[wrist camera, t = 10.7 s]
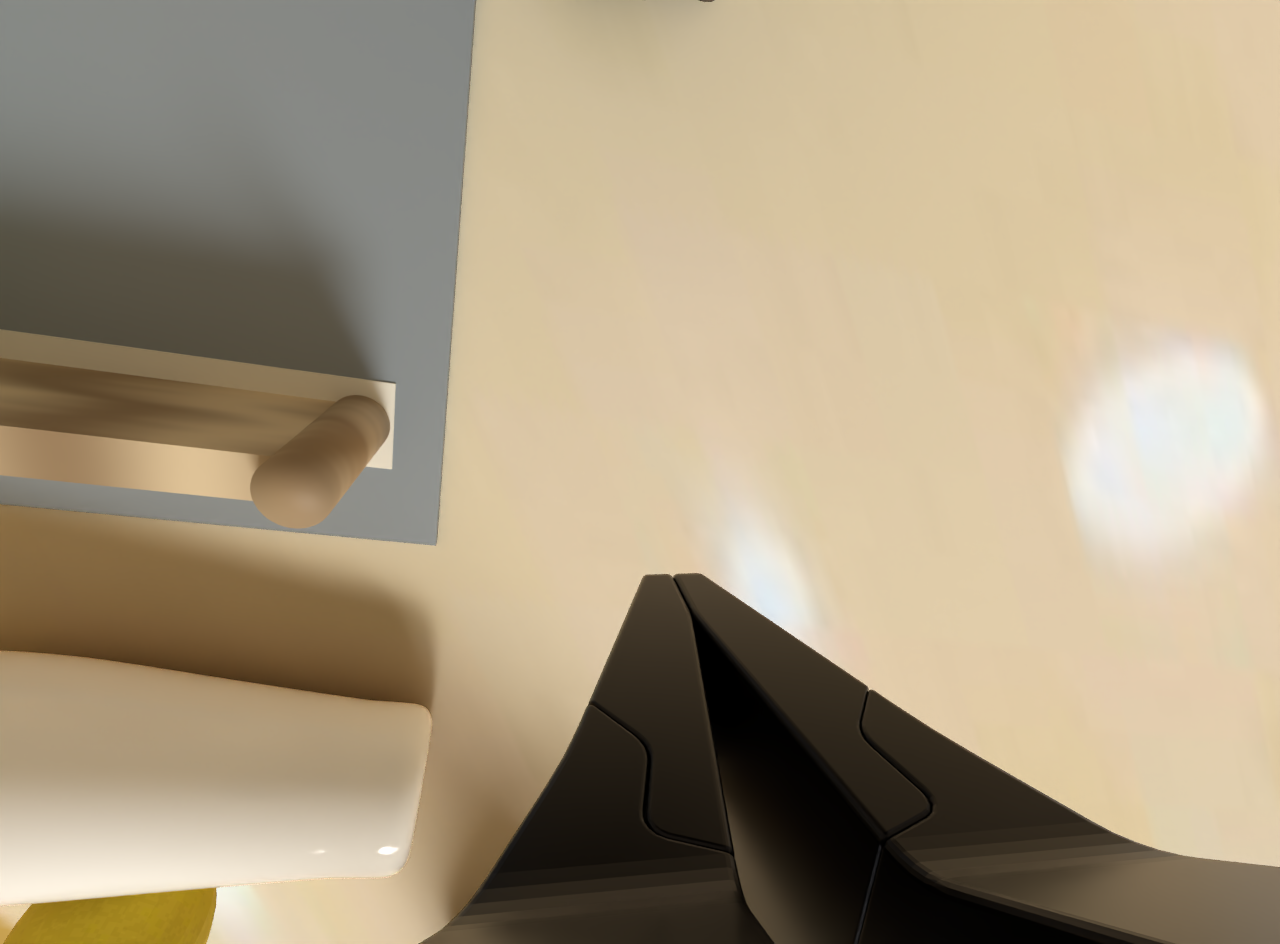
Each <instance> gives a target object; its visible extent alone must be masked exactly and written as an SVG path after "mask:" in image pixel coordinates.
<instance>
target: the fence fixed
mask: <svg viewBox="0 0 1280 944" xmlns="http://www.w3.org/2000/svg"><path fill="white" fill-rule="evenodd" d="M389 432H390V420H389V417H388V415H387V413H386V411H385V410H384V408H383V407H382V406H381V405H380V404H379V403H377V402H376V401H375V400H373V399H371V398H369V397H366V396H361V395H350V396H346V397H343V398H341V399H340V400H338V401H337V402H335V401H327V400H319V399H312V398H304V397H296V396H289V395H281V394H273V393H266V392H258V391H250V390H243V389H235V388H227V387H220V386H212V385H204V384H197V383H189V382H181V381H174V380H166V379H158V378H151V377H143V376H135V375H128V374H120V373H112V372H105V371H97V370H89V369H82V368H74V367H66V366H59V365H51V364H43V363H36V362H28V361H21V360H13V359H5V358H0V475H3V476H13V477H23V478H33V479H43V480H52V481H62V482H72V483H82V484H92V485H101V486H111V487H121V488H131V489H141V490H150V491H160V492H170V493H180V494H189V495H199V496H209V497H219V498H229V499H238V500H248V501H253V502H254V504H255V506H256V507H257V509H258V510H259V511H260V512H261V513H262V514H263V515H264V516H265V517H266V518H267V519H269V520H270V521H272V522H274V523H276V524H278V525H281V526H284V527H288V528H296V529H300V528H308V527H311V526H314V525H317V524H319V523H320V522H322V521H323V520H324V519H325V518H326V517H327V516H328V515H329V514H330V512H331V511H332V510H333V509H334V507H335V506H336V505H337V503H338V502H339V501H340V499H341V498H342V497H343V495H344V494H345V493H346V492H347V490H348V489H349V488H350V486H351V485H352V484H353V482H354V481H355V480H356V479H357V477H358V476H359V475H360V473H361V472H362V471H363V469H364V468H365V467H366V465H367V464H368V463H369V462H370V460H371V459H372V458H373V456H374V455H375V454H376V452H377V451H378V450H379V448H380V447H381V446H382V445H383V443H384V442H385V441H386V439H387V438H388V435H389Z"/></svg>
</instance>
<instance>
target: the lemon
mask: <svg viewBox="0 0 1280 944" xmlns="http://www.w3.org/2000/svg"><path fill="white" fill-rule="evenodd" d="M216 896H217V894H216V888H206V889H195V890H184V891H172V892H161V893H150V894H139V895H128V896H117V897H106V898H95V899H84V900H73V901H62V902H50V903H38V904H32V905H31V906H30V907H29V908H28V910H27V911H26V912H25V913H24V914H23V916H22V917H21V918H20V920H19V921H18V922H17V923H16V925H15V926H14V928H13V929H12V931H11V932H10V934H9V935H8V937H7V938H6V940H5V942H4V943H3V944H206V942H207V940H208V937H209V933H210V930H211V926H212V921H213V917H214V912H215V907H216Z"/></svg>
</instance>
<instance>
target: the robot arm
mask: <svg viewBox="0 0 1280 944" xmlns="http://www.w3.org/2000/svg"><path fill="white" fill-rule="evenodd" d="M700 1H704V2H712V1H714V0H700ZM868 690H869V689H868V687H867V686H866V685H865V684H863V683H862V682H860V681H859V680H857V679H856V678H855V677H853V676H852V675H850V674H849V673H847V672H846V671H844V670H843V669H841V668H840V667H838V666H837V665H835V664H834V663H832V662H831V661H829V660H828V659H826V658H825V657H823V656H822V655H821V654H819V653H818V652H816V651H815V650H813V649H812V648H810V647H809V646H807V645H806V644H804V643H803V642H801V641H800V640H798V639H797V638H795V637H794V636H792V635H791V634H790V633H788V632H787V631H785V630H784V629H782V628H781V627H779V626H778V625H776V624H775V623H773V622H772V621H770V620H769V619H767V618H766V617H764V616H763V615H761V614H760V613H758V612H757V611H756V610H754V609H753V608H751V607H750V606H748V605H747V604H745V603H744V602H742V601H741V600H739V599H738V598H736V597H735V596H733V595H732V594H730V593H729V592H727V591H726V590H724V589H723V588H722V587H720V586H719V585H717V584H716V583H714V582H713V581H711V580H710V579H708V578H707V577H705V576H704V575H702V574H699V573H688V574H676V575H674V576H673V577H672V576H671V575H669V574H654V575H645V576H644V577H643V578H642V580H641V583H640V585H639V587H638V590H637V592H636V594H635V597H634V599H633V601H632V604H631V606H630V608H629V611H628V613H627V615H626V618H625V620H624V622H623V624H622V627H621V629H620V631H619V634H618V636H617V638H616V641H615V643H614V645H613V648H612V650H611V652H610V655H609V657H608V659H607V662H606V664H605V666H604V669H603V671H602V673H601V676H600V678H599V680H598V683H597V685H596V687H595V690H594V692H593V694H592V696H591V699H590V701H589V704H588V706H587V708H586V710H585V712H584V714H583V717H582V719H581V721H580V723H579V726H578V728H577V730H576V732H575V734H574V736H573V738H572V740H571V742H570V744H569V746H568V748H567V750H566V752H565V754H564V756H563V758H562V760H561V761H560V763H559V765H558V766H557V768H556V770H555V771H554V773H553V775H552V776H551V778H550V780H549V782H548V783H547V785H546V787H545V788H544V790H543V791H542V793H541V794H540V796H539V797H538V799H537V801H536V802H535V804H534V805H533V807H532V808H531V810H530V811H529V813H528V814H527V816H526V818H525V819H524V821H523V822H522V824H521V825H520V827H519V828H518V830H517V831H516V833H515V834H514V836H513V838H512V839H511V841H510V842H509V844H508V845H507V847H506V848H505V850H504V851H503V853H502V854H501V856H500V858H499V859H498V861H497V862H496V864H495V865H494V867H493V868H492V870H491V871H490V873H489V875H488V876H487V878H486V879H485V880H484V882H483V883H482V885H481V886H480V888H479V889H478V891H477V892H476V894H475V895H474V896H473V897H472V899H471V900H470V901H469V902H468V904H467V905H466V906H465V907H464V908H463V909H462V911H461V912H460V913H459V914H458V915H457V916H456V917H455V918H454V919H453V920H452V921H451V922H450V923H449V924H447V925H446V926H445V927H444V928H443V929H442V930H440V931H439V932H437V933H436V934H434V935H432V936H431V937H429V938H427V939H426V940H424V941H422V942H421V943H419V944H1280V867H1274V866H1265V865H1256V864H1247V863H1238V862H1229V861H1221V860H1212V859H1203V858H1195V857H1188V856H1182V855H1178V854H1174V853H1170V852H1165V851H1161V850H1158V849H1155V848H1152V847H1149V846H1146V845H1143V844H1140V843H1137V842H1134V841H1132V840H1129V839H1127V838H1125V837H1122V836H1120V835H1118V834H1115V833H1113V832H1111V831H1109V830H1107V829H1105V828H1104V827H1102V826H1100V825H1098V824H1096V823H1094V822H1092V821H1090V820H1089V819H1087V818H1085V817H1083V816H1082V815H1080V814H1078V813H1077V812H1075V811H1073V810H1071V809H1070V808H1068V807H1066V806H1064V805H1063V804H1061V803H1059V802H1057V801H1056V800H1054V799H1052V798H1050V797H1049V796H1047V795H1045V794H1043V793H1042V792H1040V791H1038V790H1036V789H1035V788H1033V787H1031V786H1029V785H1028V784H1026V783H1024V782H1022V781H1021V780H1019V779H1017V778H1015V777H1014V776H1012V775H1010V774H1008V773H1007V772H1005V771H1003V770H1002V769H1000V768H998V767H996V766H995V765H993V764H991V763H989V762H988V761H986V760H984V759H982V758H981V757H979V756H977V755H975V754H974V753H972V752H970V751H969V750H967V749H965V748H964V747H962V746H960V745H959V744H957V743H955V742H954V741H952V740H950V739H948V738H947V737H945V736H943V735H942V734H940V733H938V732H937V731H935V730H933V729H932V728H930V727H929V726H927V725H926V724H924V723H923V722H921V721H919V720H918V719H916V718H915V717H913V716H912V715H910V714H909V713H907V712H906V711H904V710H902V709H901V708H899V707H898V706H896V705H895V704H893V703H892V702H890V701H889V700H887V699H886V698H884V697H883V696H881V695H880V694H878V693H877V692H876V691H874V690H869V691H868Z"/></svg>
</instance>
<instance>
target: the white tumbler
mask: <svg viewBox="0 0 1280 944" xmlns="http://www.w3.org/2000/svg"><path fill="white" fill-rule="evenodd" d="M431 731H432V717H431V714H430V712H429V710H428V709H427V708H425V707H424V706H422V705H419V704H415V703H404V702H390V701H376V700H366V699H359V698H352V697H345V696H338V695H331V694H324V693H317V692H311V691H304V690H297V689H291V688H284V687H278V686H271V685H265V684H258V683H252V682H245V681H239V680H232V679H226V678H220V677H213V676H207V675H201V674H194V673H188V672H182V671H176V670H169V669H163V668H157V667H150V666H144V665H138V664H131V663H124V662H117V661H111V660H103V659H96V658H88V657H79V656H70V655H60V654H49V653H36V652H22V651H5V650H0V906H14V905H26V904H38V903H50V902H62V901H73V900H84V899H95V898H106V897H117V896H128V895H139V894H150V893H161V892H172V891H184V890H195V889H206V888H218V887H230V886H242V885H254V884H266V883H278V882H290V881H303V880H317V879H332V878H387V877H391V876H393V875H395V874H397V873H399V872H400V871H401V870H402V869H403V868H404V866H405V865H406V863H407V861H408V859H409V856H410V853H411V848H412V843H413V837H414V832H415V826H416V821H417V815H418V809H419V803H420V797H421V792H422V786H423V780H424V774H425V768H426V762H427V756H428V750H429V744H430V737H431Z"/></svg>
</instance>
